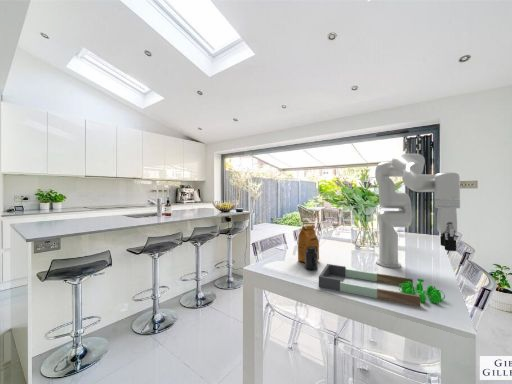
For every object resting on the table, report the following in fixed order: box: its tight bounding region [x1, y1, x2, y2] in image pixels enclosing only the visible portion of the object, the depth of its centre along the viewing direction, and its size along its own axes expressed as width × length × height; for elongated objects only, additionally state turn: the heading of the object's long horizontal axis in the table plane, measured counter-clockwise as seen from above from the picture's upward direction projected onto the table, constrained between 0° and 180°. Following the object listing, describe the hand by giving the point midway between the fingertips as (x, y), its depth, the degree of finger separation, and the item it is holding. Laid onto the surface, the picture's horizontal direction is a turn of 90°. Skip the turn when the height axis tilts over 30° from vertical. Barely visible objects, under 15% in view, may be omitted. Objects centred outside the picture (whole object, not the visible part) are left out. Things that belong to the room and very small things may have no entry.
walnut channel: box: [376, 272, 421, 308], centre depth 94 cm, size 20×14×4 cm
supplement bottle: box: [304, 246, 319, 271], centre depth 123 cm, size 7×7×12 cm
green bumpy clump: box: [398, 278, 446, 305], centre depth 90 cm, size 15×15×7 cm
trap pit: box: [318, 263, 347, 292], centre depth 106 cm, size 20×9×4 cm, turn 152°
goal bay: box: [339, 268, 378, 299], centre depth 101 cm, size 20×14×4 cm
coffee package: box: [297, 224, 320, 263], centre depth 137 cm, size 10×12×22 cm
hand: (447, 248), depth 87 cm, fingers open, 9 cm apart
